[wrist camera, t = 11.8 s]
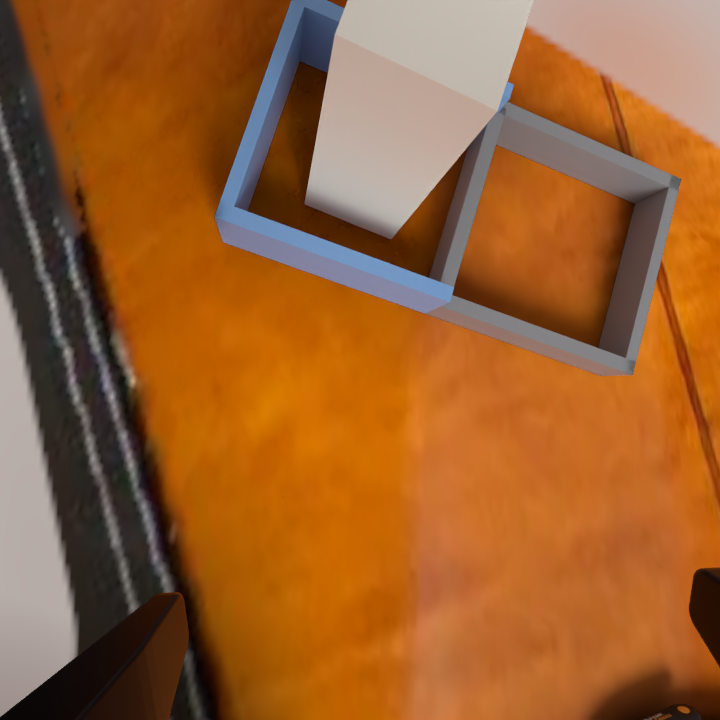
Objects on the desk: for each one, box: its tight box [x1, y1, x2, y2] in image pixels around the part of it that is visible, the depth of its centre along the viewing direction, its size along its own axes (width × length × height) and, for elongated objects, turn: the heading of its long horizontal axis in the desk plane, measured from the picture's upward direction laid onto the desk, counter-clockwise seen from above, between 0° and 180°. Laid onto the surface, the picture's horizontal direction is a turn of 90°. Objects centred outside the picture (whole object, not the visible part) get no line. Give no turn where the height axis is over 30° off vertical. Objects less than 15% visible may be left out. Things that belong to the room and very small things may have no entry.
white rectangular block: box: [304, 0, 534, 240], centre depth 16 cm, size 4×4×10 cm
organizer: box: [215, 0, 681, 376], centre depth 20 cm, size 18×9×3 cm, turn 73°
